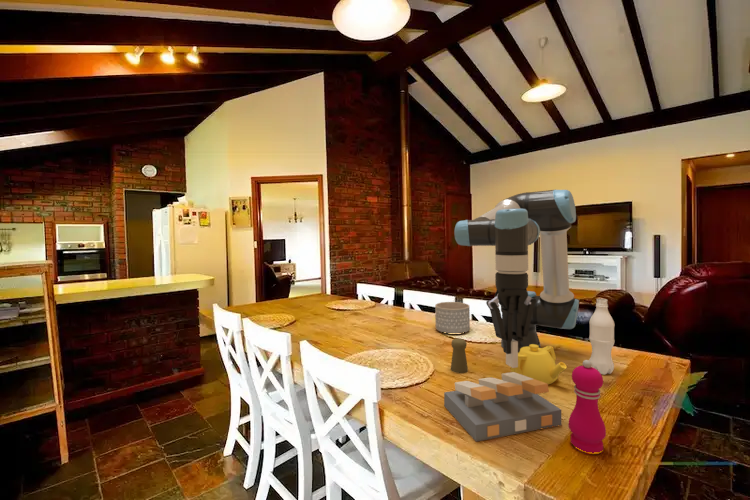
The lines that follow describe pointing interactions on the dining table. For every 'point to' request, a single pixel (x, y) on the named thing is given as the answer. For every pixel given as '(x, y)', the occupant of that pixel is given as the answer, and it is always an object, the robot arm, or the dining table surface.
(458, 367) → the olive brown shaker
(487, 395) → the rocker
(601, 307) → the water bottle
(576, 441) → the pepper mill
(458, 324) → the planter
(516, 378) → the rocker
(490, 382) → the rocker
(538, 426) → the switch box
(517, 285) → the robot arm
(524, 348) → the teapot
